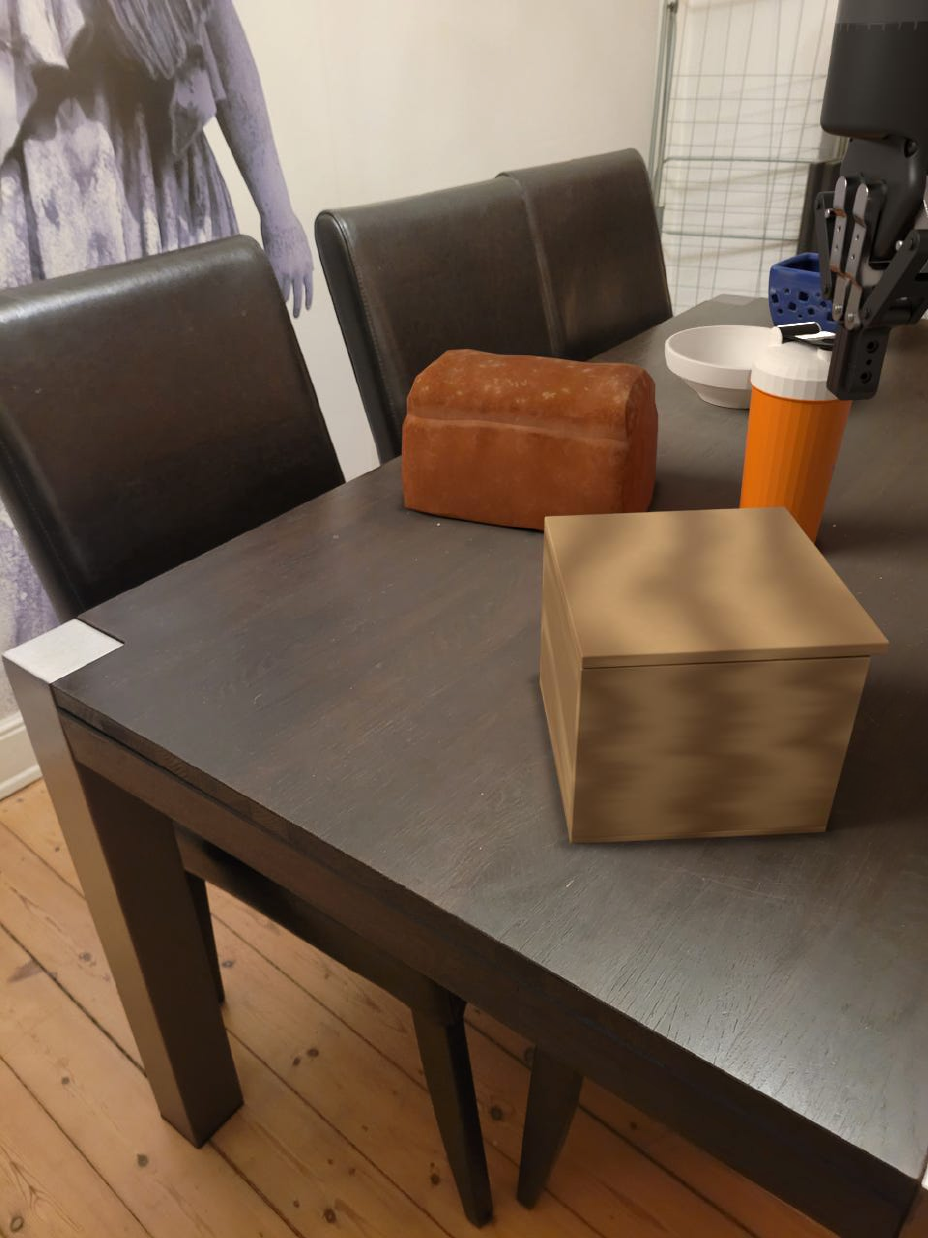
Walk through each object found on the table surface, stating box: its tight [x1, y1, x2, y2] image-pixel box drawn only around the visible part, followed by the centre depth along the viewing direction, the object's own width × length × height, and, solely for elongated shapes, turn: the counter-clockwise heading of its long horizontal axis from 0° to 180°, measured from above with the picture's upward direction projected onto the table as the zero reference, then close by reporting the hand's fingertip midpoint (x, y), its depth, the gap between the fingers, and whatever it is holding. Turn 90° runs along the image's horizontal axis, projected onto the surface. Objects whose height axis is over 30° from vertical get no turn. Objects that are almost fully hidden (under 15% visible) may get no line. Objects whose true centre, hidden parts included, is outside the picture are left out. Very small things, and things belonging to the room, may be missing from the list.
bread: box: [401, 348, 659, 532], centre depth 93 cm, size 17×24×15 cm
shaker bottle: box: [739, 322, 853, 545], centre depth 83 cm, size 9×9×20 cm
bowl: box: [664, 324, 773, 410], centre depth 120 cm, size 20×20×7 cm
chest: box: [539, 528, 872, 845], centre depth 60 cm, size 16×17×13 cm
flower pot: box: [767, 252, 839, 334], centre depth 139 cm, size 13×13×12 cm
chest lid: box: [544, 507, 890, 668], centre depth 56 cm, size 16×17×1 cm
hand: (849, 394), depth 50 cm, fingers closed
